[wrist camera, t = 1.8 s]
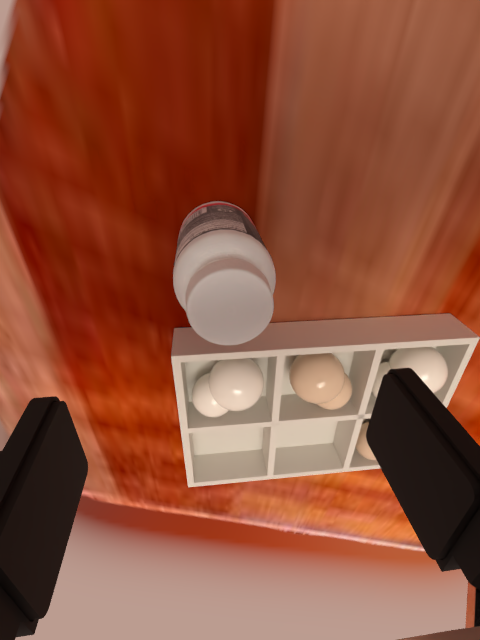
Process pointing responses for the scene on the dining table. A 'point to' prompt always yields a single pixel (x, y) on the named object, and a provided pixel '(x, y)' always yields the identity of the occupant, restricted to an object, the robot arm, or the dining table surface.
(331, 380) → the brown egg
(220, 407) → the cream egg
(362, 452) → the brown egg
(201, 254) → the pill bottle
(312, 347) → the grey compartment tray
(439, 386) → the cream egg
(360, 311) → the dining table surface
